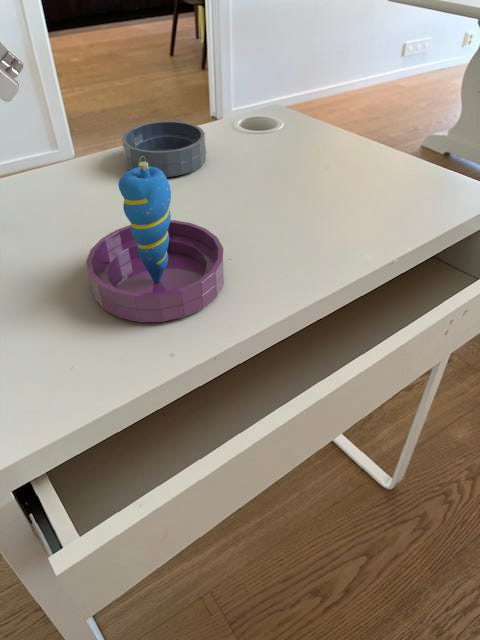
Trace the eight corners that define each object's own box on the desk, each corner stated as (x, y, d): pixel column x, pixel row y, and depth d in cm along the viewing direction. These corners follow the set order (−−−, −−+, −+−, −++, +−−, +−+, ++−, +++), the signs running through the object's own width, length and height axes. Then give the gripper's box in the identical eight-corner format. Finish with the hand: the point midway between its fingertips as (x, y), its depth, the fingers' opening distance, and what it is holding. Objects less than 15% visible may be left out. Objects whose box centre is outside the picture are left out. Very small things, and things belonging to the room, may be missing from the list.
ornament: (126, 284, 59) (102, 160, 49) (156, 263, 62) (139, 142, 52) (160, 300, 57) (141, 173, 47) (189, 277, 60) (177, 154, 50)
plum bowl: (68, 310, 57) (59, 281, 54) (131, 239, 67) (126, 212, 65) (196, 337, 53) (193, 308, 50) (240, 258, 64) (240, 230, 61)
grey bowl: (112, 174, 82) (107, 146, 79) (147, 143, 92) (144, 117, 89) (188, 184, 79) (185, 156, 76) (217, 151, 89) (215, 125, 86)
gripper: (-173, -94, 30) (35, 79, 39) (-98, -83, 46) (39, 38, 54) (-223, -5, 32) (-13, 142, 40) (-134, -25, 48) (5, 85, 56)
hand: (17, 82), depth 47 cm, fingers open, 8 cm apart
